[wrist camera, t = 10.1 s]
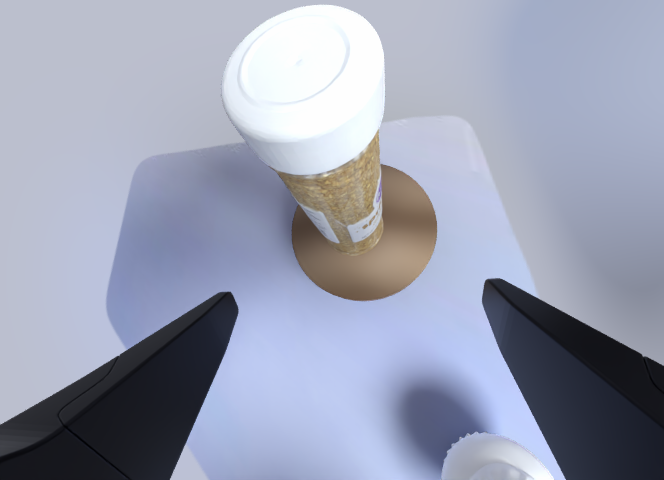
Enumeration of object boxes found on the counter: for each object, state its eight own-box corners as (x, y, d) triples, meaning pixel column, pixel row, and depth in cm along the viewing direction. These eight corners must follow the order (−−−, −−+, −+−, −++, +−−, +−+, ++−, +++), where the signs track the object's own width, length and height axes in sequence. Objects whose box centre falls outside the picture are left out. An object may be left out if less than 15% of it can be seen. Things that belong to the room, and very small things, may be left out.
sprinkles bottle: (389, 250, 18) (406, 102, 5) (328, 262, 19) (214, 156, 6) (376, 194, 19) (364, -28, 7) (320, 207, 20) (212, 27, 7)
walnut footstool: (441, 292, 20) (455, 288, 16) (312, 310, 22) (297, 310, 18) (412, 175, 24) (417, 149, 20) (301, 198, 25) (286, 178, 21)
